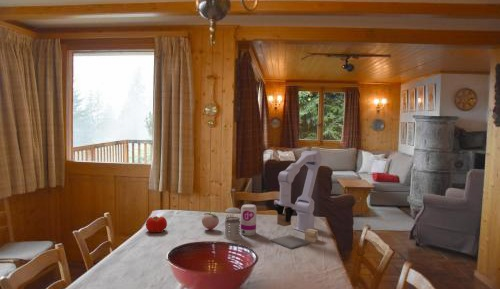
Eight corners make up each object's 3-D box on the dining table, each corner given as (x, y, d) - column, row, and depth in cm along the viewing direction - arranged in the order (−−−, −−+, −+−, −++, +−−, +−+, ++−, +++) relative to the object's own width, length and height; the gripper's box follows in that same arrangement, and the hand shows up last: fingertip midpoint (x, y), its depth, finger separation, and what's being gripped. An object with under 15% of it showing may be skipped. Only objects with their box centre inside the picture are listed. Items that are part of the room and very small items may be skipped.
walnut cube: (284, 222, 198) (284, 213, 197) (290, 224, 194) (291, 215, 193) (277, 224, 194) (277, 214, 194) (284, 226, 191) (284, 216, 190)
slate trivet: (289, 236, 195) (289, 234, 195) (310, 243, 185) (310, 241, 185) (270, 241, 186) (270, 239, 186) (290, 249, 176) (290, 247, 176)
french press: (245, 235, 194) (246, 188, 192) (235, 242, 184) (236, 191, 182) (228, 233, 198) (229, 186, 197) (217, 239, 188) (218, 189, 186)
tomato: (169, 228, 203) (169, 215, 203) (162, 234, 193) (162, 220, 192) (150, 227, 205) (150, 214, 204) (142, 233, 194) (142, 219, 193)
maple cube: (308, 238, 193) (308, 228, 193) (317, 240, 190) (317, 230, 190) (304, 240, 189) (304, 231, 188) (314, 242, 186) (314, 232, 186)
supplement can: (254, 236, 193) (255, 208, 192) (238, 235, 195) (239, 206, 194) (257, 232, 201) (258, 204, 200) (242, 230, 203) (243, 203, 202)
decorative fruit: (198, 231, 200) (198, 212, 200) (205, 227, 208) (206, 209, 207) (213, 233, 197) (214, 214, 196) (220, 229, 205) (221, 211, 204)
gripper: (270, 192, 196) (269, 218, 197) (289, 197, 185) (288, 224, 186) (279, 191, 201) (279, 216, 202) (299, 196, 190) (298, 222, 190)
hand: (284, 220), depth 194 cm, fingers closed on walnut cube, 5 cm apart
